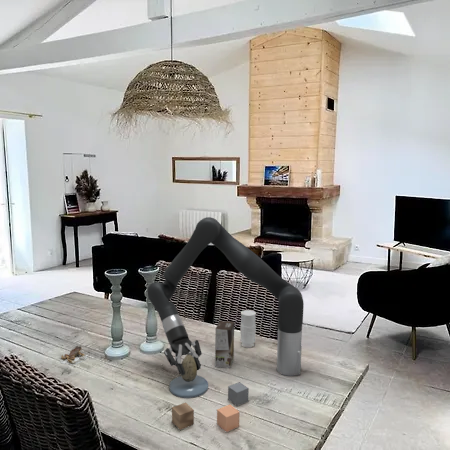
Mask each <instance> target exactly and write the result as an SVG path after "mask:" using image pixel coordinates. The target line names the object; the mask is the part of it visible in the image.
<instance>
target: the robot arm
mask: <svg viewBox="0 0 450 450" xmlns="http://www.w3.org/2000/svg"><path fill="white" fill-rule="evenodd" d="M185 244H186V245H184V247H183V248H182V249H181V250H180V251H179V253H177V255H176V256H175V257H174V259H173V260H172V261H171V263H170V264H169V265H168V266H167V268H166V269H165V271H164V272H163V278H164V281H163V282H157V281H155V282H151V283H150V284H149V285H148V287H147V291H146V292H147V297H148V299H149V301H150V303H151V304H152V306H153V307H154V309H155V310H156V311H157V313H158V315H159V318H160V321H161V323H162V329H163V333H164V334H165V336H166V339H167V341H168V344H169V346H170V347H168V348H166V349H165V350H164V351H163V353H164V356H165V358H166V359H167V362H168V363H169V365H170V366H175V367H176V369H177V371H178V374H179V375H180V376H181V375H184V374H185V371H184V368H183V366H182V362H181V361H182V357H183V356H186V355H191V356H192V357H193V358H194V360H195V363H196V366H197V371H200V369H201V368H202V365H201V361H200V359H199V358H200V357H201V356H202V354H203V353H202V349H201V347H200V341H199V340H198V339H195V340H194V341H193V340H192V341H191V340H190V338H189V333H188V332H187V329H186V327H185V324H184V323H183V320H182V318H181V316H180V314H179V312H178V310H177V307H176V304H175V303H173V302H172V301H170V299H171V298H172V297H173V296H174V294H175V292H176V291H177V288H178V285H179V282H180V281H181V280H182V279H183V278H184V277H185V275H186V274H187V272H188V271H189V270H190V268H191V266H192V265H193V263H194V262H195V261H196V259H197V258H198V256H199V255H200V254H201V252H203V251H204V249H206V248H207V247H208V246H209V245H210V244H211V245H213V246H215V247H216V248H218V250H220V252H221V253H222V254H223V255H224V256H225V257H226V259H227V260H228V261H229V262H230V264H231V265H232V266H233V267H234V268H235V269H236V270H237V271H238V272H239V273H240V274H241V275H243V276H244V277H245V278H246V279H248V280H250V281H251V282H253V283H254V284H256V285H259V286H261V287H263V288H264V289H266V290H267V291H268V292H269V293H271V295H273V297H274V298H276V300H277V301H278V321H277V322H278V323H277V348H276V349H277V353H276V355H277V356H276V370H277V372H278V374H281V375H283V376H288V377H293V376H300V375H301V369H302V337H303V331H302V330H303V325H304V324H303V323H304V322H303V321H304V298H303V294H302V292H301V291H300V290H299V288H297V287H296V286H294V285H293V284H292V283H290V282H288V281H287V280H285V279H284V278H282V277H281V276H280V275H279V274H278V273H277V272H276V271H274V270H273V269H272V267H270V265H269V264H267V263H266V262H265V261H264V260H263V259H262V258H261V257H260V256H259V255H257V254H256V253H255V252H254V251H252V250H251V249H249V247H247V246H246V245H245V244H243V243H242V242H241V241H239V240H237V239H236V238H235V237H234V236H233V235H232V234H231V233H229V232H228V230H227V229H226V228H225V227H224V226H223V225H222V224H221V223H220V222H219V221H218V220H217V219H216V218H213V217H210V216H207V217H204V218H201V220H199V221H198V222H197V223H196V226H195V228H194V230H193V232H192V234H191V236H190V238H189V239H188V241H187V242H186V243H185ZM172 353H174V354H175V355H174V356H173V354H172Z"/></svg>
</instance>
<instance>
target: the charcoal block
mask: <svg viewBox="0 0 450 450" xmlns="http://www.w3.org/2000/svg"><path fill="white" fill-rule="evenodd" d="M227 400H229V402H231V403H232V404H233V405H235V406H236V407H239V406H240V405H243V404H246V403H249V387H248V386H246V385H245V384H244V383H243V382H241V381H238V382H236V383H233V384H231V385H228V386H227Z"/></svg>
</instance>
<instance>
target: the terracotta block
mask: <svg viewBox="0 0 450 450" xmlns="http://www.w3.org/2000/svg"><path fill="white" fill-rule="evenodd" d="M240 413H241V412H240V411H239V410H238V409H237V408H235V407H234V406H232V404H227V405H225V406H223V407H220V408H217V409H216V425H217V426H219V427H220V428H221V429H222V430H223V431H224V432H225V431H226V432H225V433H228V432H230V431H232V430H234V429H236V428H239V427H240V415H241V414H240Z"/></svg>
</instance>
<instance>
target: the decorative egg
mask: <svg viewBox="0 0 450 450" xmlns="http://www.w3.org/2000/svg"><path fill="white" fill-rule="evenodd" d="M182 359H183V360H182V362H181V363H182V366H183V368H184V371H185V374H184V375H181V374H180V376H181V377H182V378H183V380H185V381H186V382H191V381H193V380H194V379H195V377H196V375H197V373H198V370H197V366H196V363H195V360H194V358H193V357H192V356H191V355H184V358H182Z"/></svg>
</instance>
